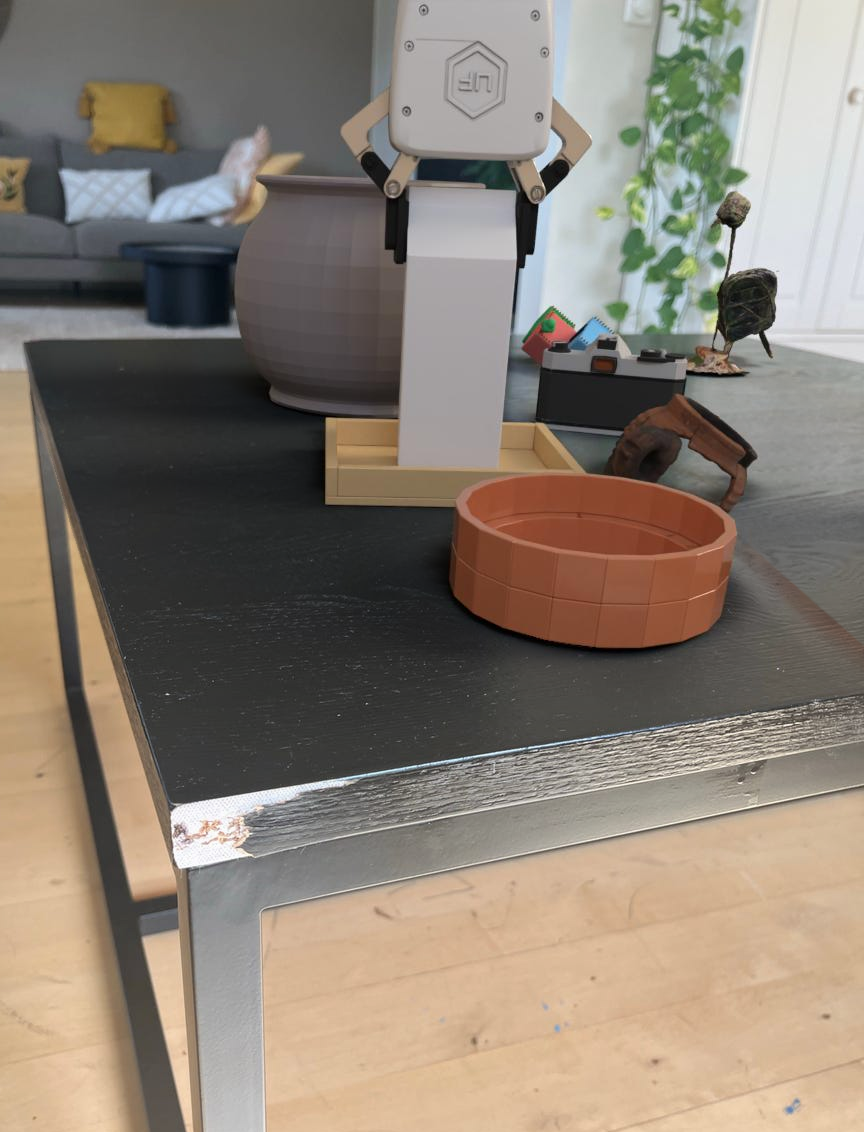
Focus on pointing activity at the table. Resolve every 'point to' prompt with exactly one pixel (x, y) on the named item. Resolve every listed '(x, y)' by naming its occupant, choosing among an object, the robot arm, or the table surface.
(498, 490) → the bowl
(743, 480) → the brown curved piece
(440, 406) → the milk carton
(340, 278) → the round clay pot
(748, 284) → the plant with pod
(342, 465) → the tray
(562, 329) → the building blocks
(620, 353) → the camera
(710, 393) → the table surface
